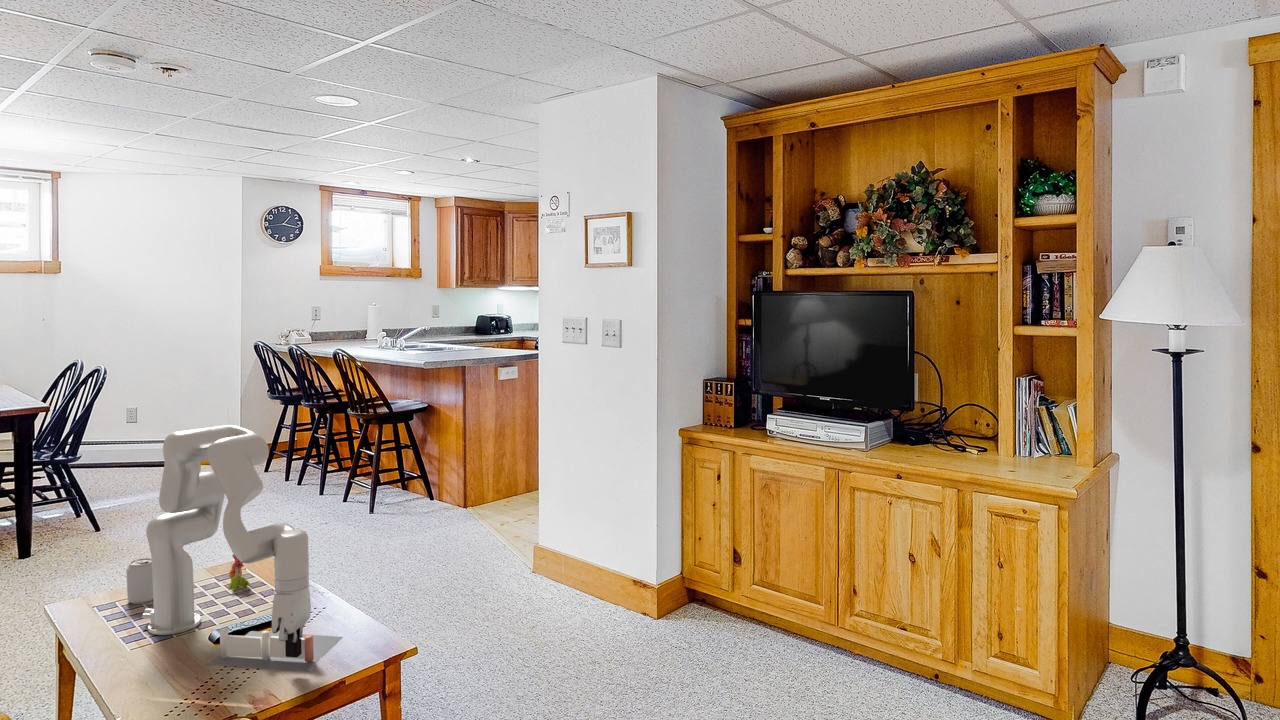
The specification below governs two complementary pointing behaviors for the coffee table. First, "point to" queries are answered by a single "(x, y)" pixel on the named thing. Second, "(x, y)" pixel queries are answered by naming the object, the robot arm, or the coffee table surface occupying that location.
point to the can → (140, 581)
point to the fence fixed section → (245, 645)
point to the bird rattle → (237, 575)
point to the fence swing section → (279, 651)
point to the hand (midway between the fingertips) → (293, 655)
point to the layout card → (319, 647)
